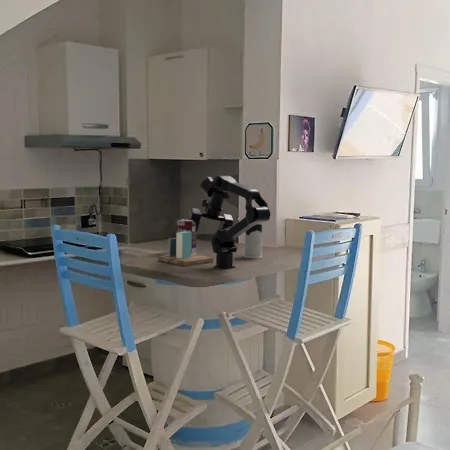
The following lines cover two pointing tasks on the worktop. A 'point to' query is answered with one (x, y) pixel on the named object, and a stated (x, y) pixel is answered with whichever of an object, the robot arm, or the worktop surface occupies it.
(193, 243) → the supplement box
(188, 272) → the worktop surface
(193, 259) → the wooden board
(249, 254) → the glass holder
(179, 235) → the teal rectangular block
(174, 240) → the grey metal bookend
